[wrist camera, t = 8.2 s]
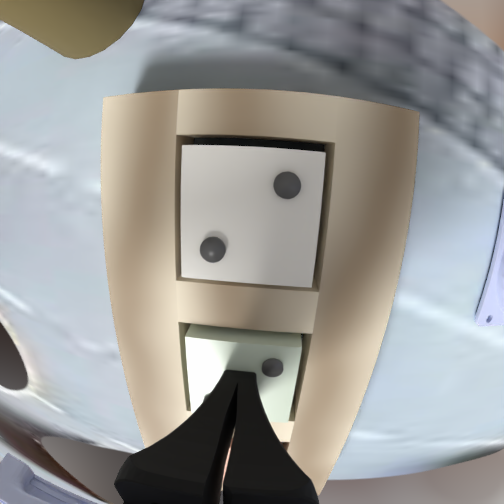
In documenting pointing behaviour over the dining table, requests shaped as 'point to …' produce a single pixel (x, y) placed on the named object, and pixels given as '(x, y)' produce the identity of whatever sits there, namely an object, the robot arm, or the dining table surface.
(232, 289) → the wooden puzzle board
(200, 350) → the three dot key
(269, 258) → the two dot key
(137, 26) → the dining table surface
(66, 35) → the cork
